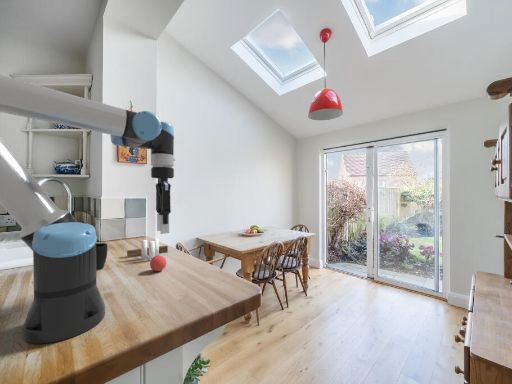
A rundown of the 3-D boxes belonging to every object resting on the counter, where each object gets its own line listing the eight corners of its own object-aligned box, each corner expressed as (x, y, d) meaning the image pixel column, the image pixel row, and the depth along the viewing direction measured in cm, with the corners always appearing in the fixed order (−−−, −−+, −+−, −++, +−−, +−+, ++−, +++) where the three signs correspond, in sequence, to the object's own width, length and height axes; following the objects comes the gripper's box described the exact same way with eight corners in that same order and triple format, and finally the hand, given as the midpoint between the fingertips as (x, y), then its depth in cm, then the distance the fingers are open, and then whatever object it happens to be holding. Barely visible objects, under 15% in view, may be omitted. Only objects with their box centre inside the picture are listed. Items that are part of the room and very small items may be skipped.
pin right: (159, 257, 110) (159, 239, 110) (153, 258, 109) (153, 239, 109) (158, 256, 113) (158, 238, 112) (152, 256, 111) (152, 239, 111)
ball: (167, 271, 91) (167, 256, 91) (151, 274, 88) (151, 258, 88) (164, 267, 97) (164, 252, 96) (148, 270, 93) (148, 254, 93)
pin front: (155, 260, 106) (155, 241, 105) (149, 261, 104) (149, 242, 104) (154, 259, 108) (154, 240, 107) (148, 260, 106) (148, 241, 106)
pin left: (147, 259, 108) (147, 240, 108) (141, 259, 107) (141, 241, 106) (146, 257, 110) (146, 239, 110) (141, 258, 109) (141, 240, 108)
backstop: (167, 252, 120) (167, 246, 120) (127, 257, 110) (127, 251, 110) (166, 251, 121) (166, 245, 121) (127, 256, 112) (127, 250, 112)
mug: (107, 262, 104) (106, 240, 103) (107, 269, 94) (107, 246, 94) (84, 265, 99) (83, 242, 99) (82, 273, 89) (81, 248, 89)
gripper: (180, 165, 78) (180, 235, 78) (167, 169, 94) (168, 227, 94) (155, 164, 74) (156, 237, 74) (147, 168, 90) (147, 229, 90)
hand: (162, 231), depth 84 cm, fingers open, 6 cm apart
